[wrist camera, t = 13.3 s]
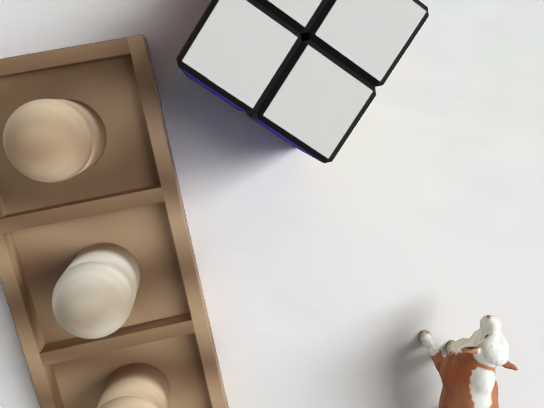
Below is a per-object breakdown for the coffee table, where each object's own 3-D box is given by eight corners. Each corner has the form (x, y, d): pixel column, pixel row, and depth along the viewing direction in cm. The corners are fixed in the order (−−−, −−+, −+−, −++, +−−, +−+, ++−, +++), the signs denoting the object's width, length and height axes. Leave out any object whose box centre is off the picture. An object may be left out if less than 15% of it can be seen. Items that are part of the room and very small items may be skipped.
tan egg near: (22, 106, 35) (-24, 107, 28) (96, 92, 35) (69, 91, 28) (42, 178, 36) (3, 196, 29) (114, 164, 36) (92, 179, 29)
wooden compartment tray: (-50, 71, 34) (-65, 70, 32) (145, 38, 35) (142, 34, 33) (72, 468, 41) (65, 487, 39) (233, 430, 42) (234, 446, 40)
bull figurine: (468, 285, 42) (528, 328, 34) (464, 431, 45) (519, 503, 37) (416, 290, 41) (465, 335, 34) (416, 438, 44) (461, 512, 36)
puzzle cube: (182, 73, 36) (172, 63, 26) (259, -54, 35) (279, -113, 25) (299, 150, 38) (330, 167, 28) (375, 32, 37) (435, 9, 27)
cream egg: (58, 255, 37) (28, 290, 30) (127, 233, 37) (112, 263, 30) (83, 317, 38) (60, 364, 31) (149, 295, 38) (140, 337, 32)
